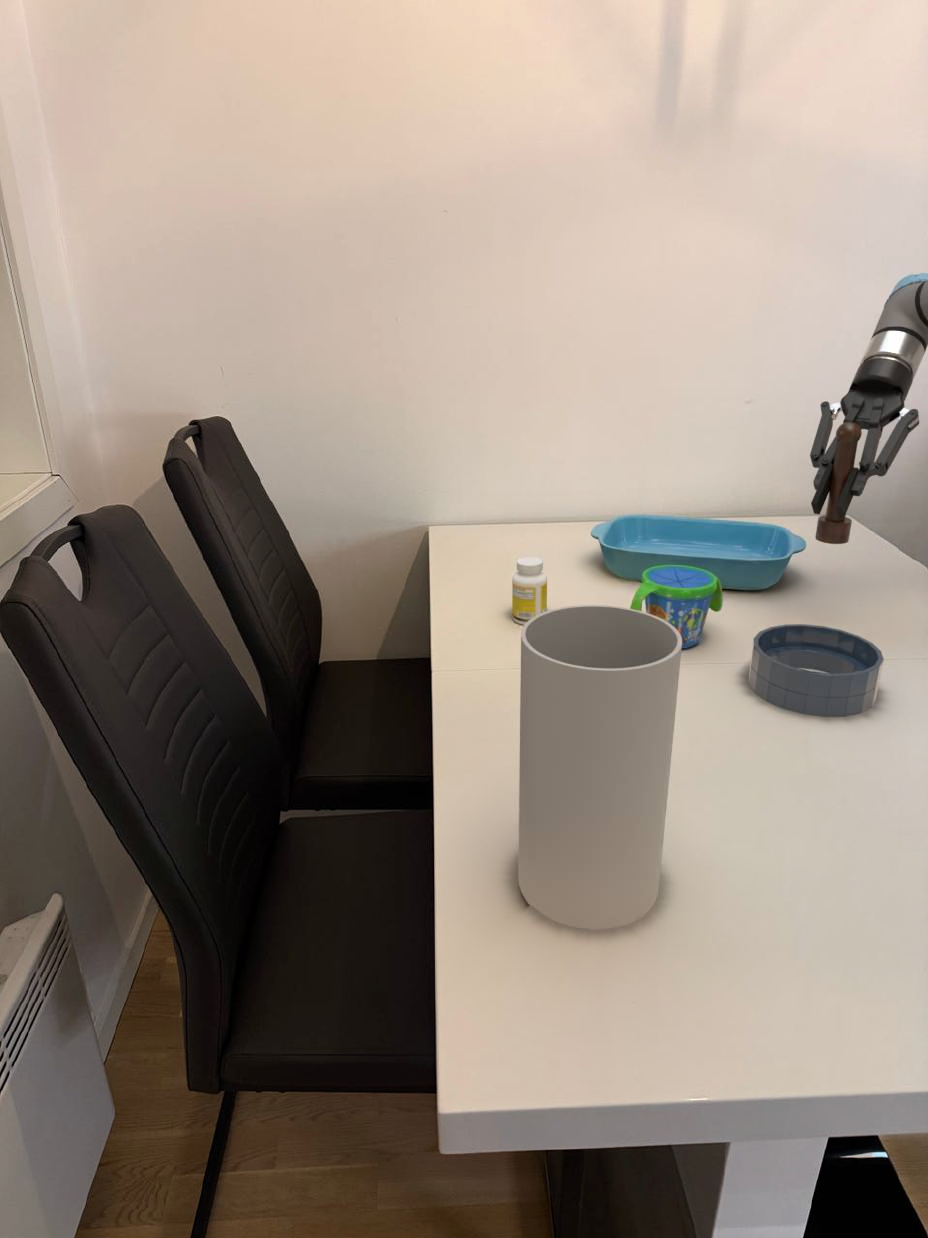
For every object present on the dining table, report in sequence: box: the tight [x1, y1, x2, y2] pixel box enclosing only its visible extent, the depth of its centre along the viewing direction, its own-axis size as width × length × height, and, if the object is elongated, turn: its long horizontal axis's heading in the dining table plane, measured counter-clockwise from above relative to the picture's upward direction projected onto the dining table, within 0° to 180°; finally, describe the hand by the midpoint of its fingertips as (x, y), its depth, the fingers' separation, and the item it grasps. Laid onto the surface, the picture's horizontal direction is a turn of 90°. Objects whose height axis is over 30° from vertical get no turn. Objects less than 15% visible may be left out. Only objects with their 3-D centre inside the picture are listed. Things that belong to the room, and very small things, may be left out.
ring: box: [748, 623, 885, 718], centre depth 107 cm, size 15×15×6 cm
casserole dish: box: [590, 514, 807, 591], centre depth 150 cm, size 37×22×7 cm, turn 71°
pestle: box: [814, 422, 863, 545], centre depth 116 cm, size 4×4×17 cm
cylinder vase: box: [517, 604, 683, 931], centre depth 71 cm, size 12×12×25 cm
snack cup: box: [629, 565, 724, 649], centre depth 122 cm, size 16×10×10 cm
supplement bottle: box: [511, 556, 548, 626], centre depth 130 cm, size 5×5×10 cm
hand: (827, 510), depth 115 cm, fingers closed on pestle, 3 cm apart
